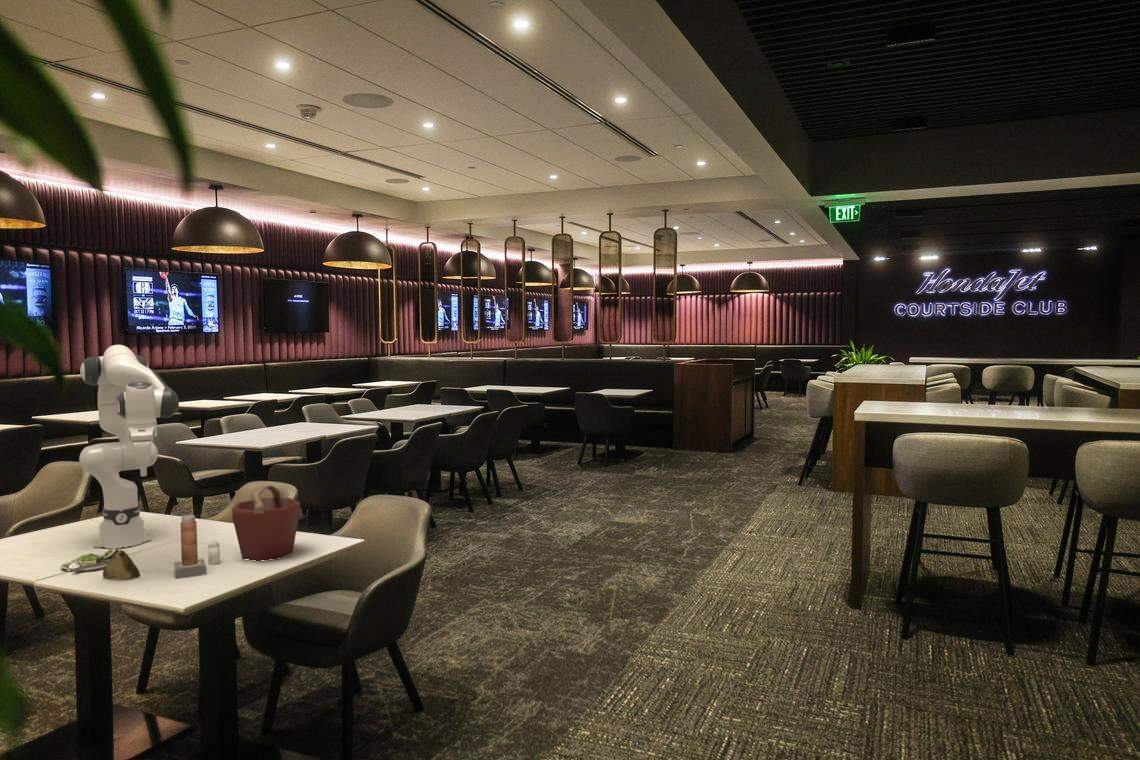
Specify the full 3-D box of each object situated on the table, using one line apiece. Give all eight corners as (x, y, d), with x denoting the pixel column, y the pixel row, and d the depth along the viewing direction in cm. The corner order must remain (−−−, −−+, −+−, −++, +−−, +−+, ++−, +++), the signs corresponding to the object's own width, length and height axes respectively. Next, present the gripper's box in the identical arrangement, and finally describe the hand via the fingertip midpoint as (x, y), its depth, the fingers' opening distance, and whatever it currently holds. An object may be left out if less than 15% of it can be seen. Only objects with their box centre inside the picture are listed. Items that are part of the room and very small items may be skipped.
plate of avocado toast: (96, 576, 255) (95, 562, 254) (46, 574, 256) (45, 561, 256) (134, 559, 274) (134, 546, 274) (88, 558, 276) (87, 545, 275)
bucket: (273, 566, 264) (271, 494, 263) (216, 562, 269) (214, 492, 267) (311, 547, 288) (309, 481, 287) (258, 544, 293) (256, 479, 291)
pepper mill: (181, 562, 258) (179, 515, 257) (197, 560, 261) (195, 514, 260) (182, 566, 254) (180, 518, 253) (198, 564, 256) (196, 517, 255)
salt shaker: (208, 562, 269) (207, 540, 269) (219, 561, 271) (218, 539, 270) (209, 565, 266) (208, 543, 265) (220, 563, 268) (219, 541, 267)
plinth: (174, 571, 259) (174, 562, 259) (203, 567, 264) (203, 558, 263) (175, 578, 251) (175, 569, 251) (206, 574, 256) (205, 565, 256)
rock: (91, 573, 250) (106, 574, 244) (106, 548, 254) (121, 548, 249) (121, 585, 257) (136, 587, 251) (135, 561, 261) (150, 562, 256)
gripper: (131, 428, 261) (133, 468, 262) (130, 436, 243) (132, 479, 244) (152, 426, 264) (154, 466, 265) (153, 435, 246) (154, 477, 247)
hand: (143, 473), depth 254 cm, fingers open, 8 cm apart
